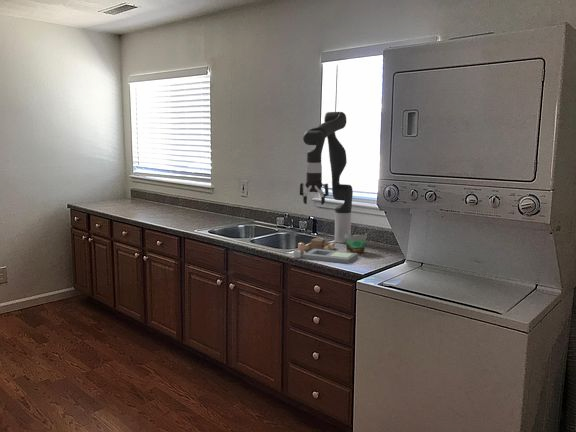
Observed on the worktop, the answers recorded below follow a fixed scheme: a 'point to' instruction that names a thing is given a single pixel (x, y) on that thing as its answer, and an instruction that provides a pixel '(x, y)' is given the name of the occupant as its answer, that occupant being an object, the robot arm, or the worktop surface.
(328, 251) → the grey tray
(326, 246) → the tan curved piece
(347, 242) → the food container
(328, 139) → the robot arm
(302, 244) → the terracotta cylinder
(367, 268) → the worktop surface
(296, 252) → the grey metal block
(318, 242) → the walnut cube
